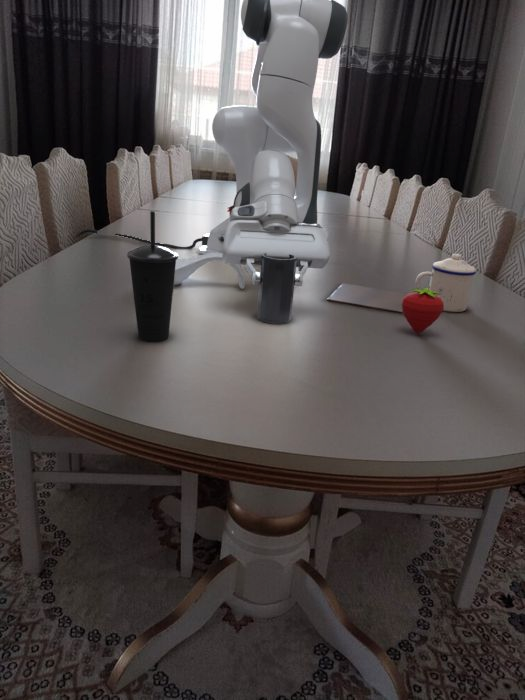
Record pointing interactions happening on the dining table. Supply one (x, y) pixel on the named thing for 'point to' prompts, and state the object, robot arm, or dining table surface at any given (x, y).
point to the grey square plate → (368, 297)
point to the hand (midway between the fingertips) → (277, 283)
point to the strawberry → (422, 308)
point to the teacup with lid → (451, 282)
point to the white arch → (192, 264)
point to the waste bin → (276, 289)
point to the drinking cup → (152, 287)
